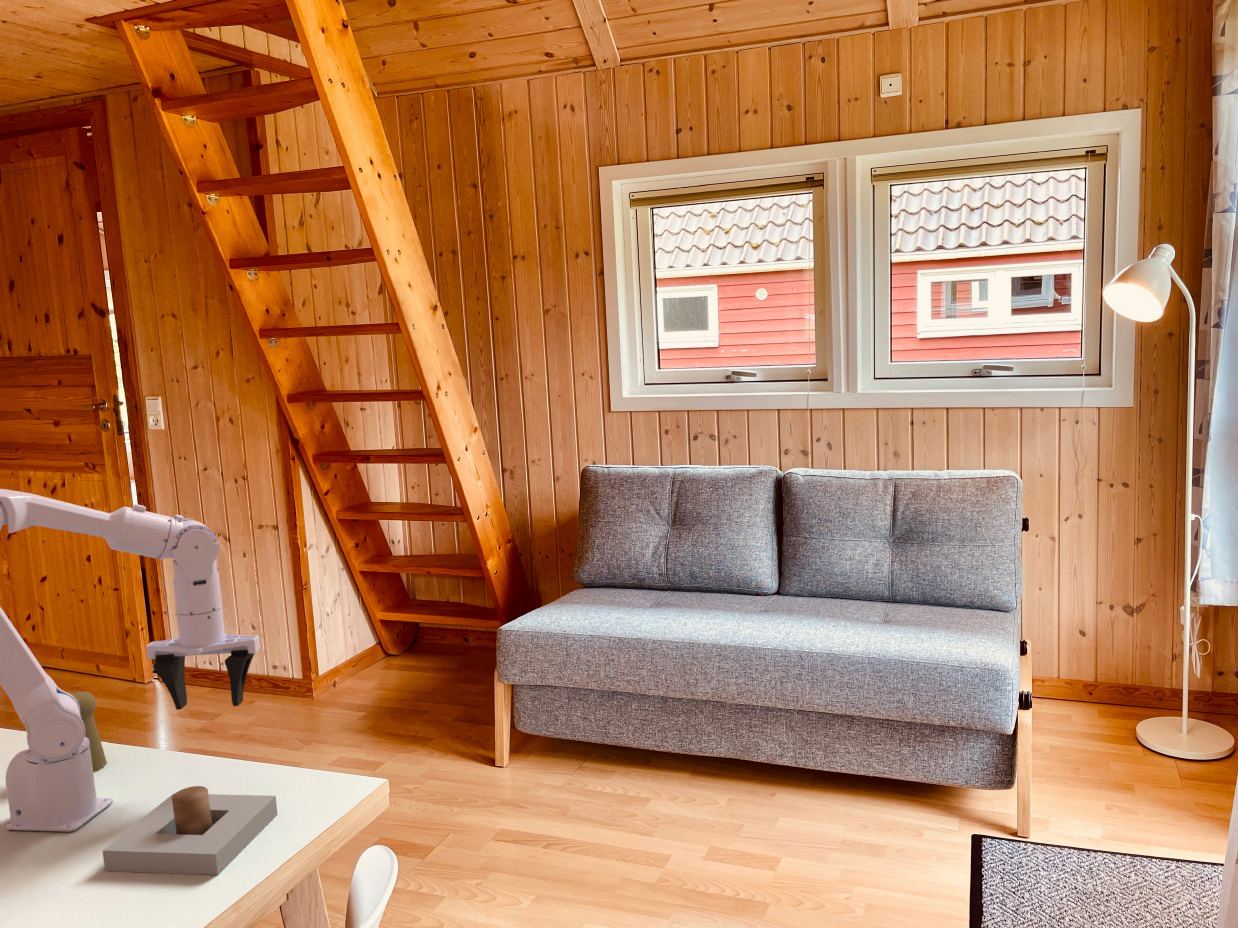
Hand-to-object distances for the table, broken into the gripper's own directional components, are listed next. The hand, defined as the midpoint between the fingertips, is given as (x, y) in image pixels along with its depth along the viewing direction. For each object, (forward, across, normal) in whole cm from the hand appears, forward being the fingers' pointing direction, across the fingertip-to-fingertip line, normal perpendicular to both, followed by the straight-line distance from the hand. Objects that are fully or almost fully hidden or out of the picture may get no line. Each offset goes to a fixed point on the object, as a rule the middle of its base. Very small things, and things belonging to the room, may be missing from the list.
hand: (209, 705), depth 136 cm
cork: (+11, -21, +6) cm, 25 cm away
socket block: (+10, +4, -18) cm, 21 cm away
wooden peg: (+10, +4, -18) cm, 21 cm away
